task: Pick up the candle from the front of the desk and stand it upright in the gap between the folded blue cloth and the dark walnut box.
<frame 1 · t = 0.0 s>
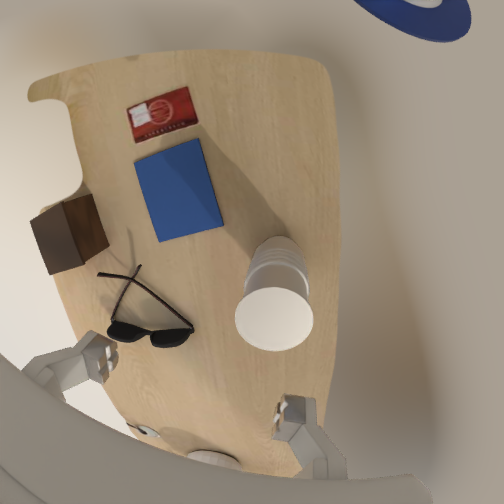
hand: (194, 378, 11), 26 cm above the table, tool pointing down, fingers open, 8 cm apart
white plant pot: (210, 460, 62), on the table
box: (82, 227, 39), on the table
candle: (279, 256, 37), on the table
cloth: (177, 192, 35), on the table
sunglasses: (143, 295, 42), on the table
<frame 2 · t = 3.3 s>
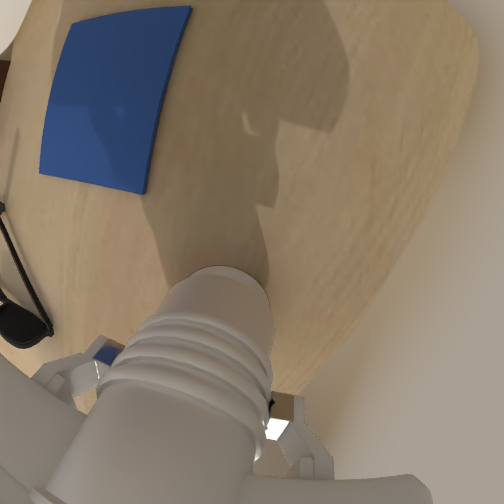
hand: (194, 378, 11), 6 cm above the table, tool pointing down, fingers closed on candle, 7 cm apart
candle: (223, 307, 17), on the table, touching gripper
cloth: (99, 92, 13), on the table
sunglasses: (7, 245, 18), on the table
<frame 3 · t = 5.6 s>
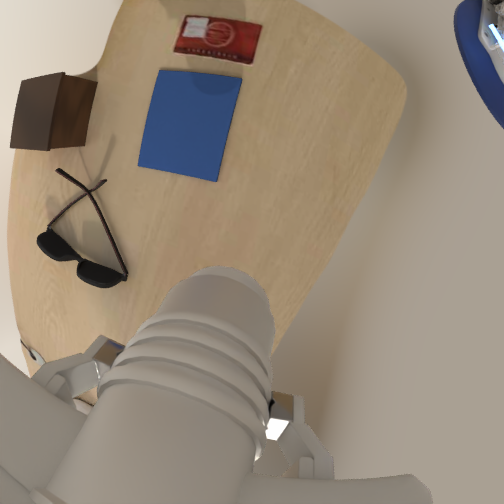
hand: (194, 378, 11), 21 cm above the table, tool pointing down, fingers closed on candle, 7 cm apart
box: (69, 113, 27), on the table
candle: (223, 307, 17), point 15 cm above the table, touching gripper
cloth: (186, 122, 27), on the table
sunglasses: (91, 215, 33), on the table
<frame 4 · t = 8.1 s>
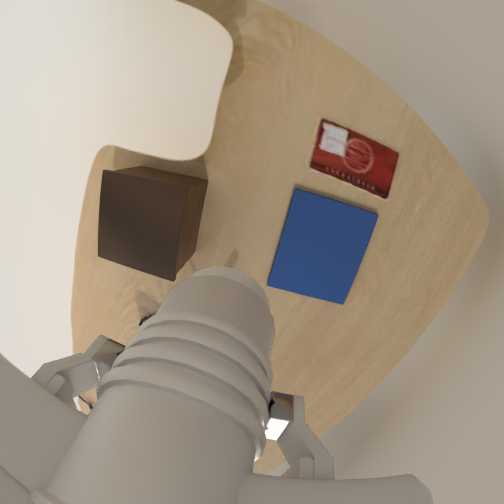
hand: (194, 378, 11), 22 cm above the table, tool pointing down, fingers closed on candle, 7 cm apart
box: (166, 208, 31), on the table
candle: (223, 307, 17), point 15 cm above the table, touching gripper
cloth: (322, 250, 31), on the table
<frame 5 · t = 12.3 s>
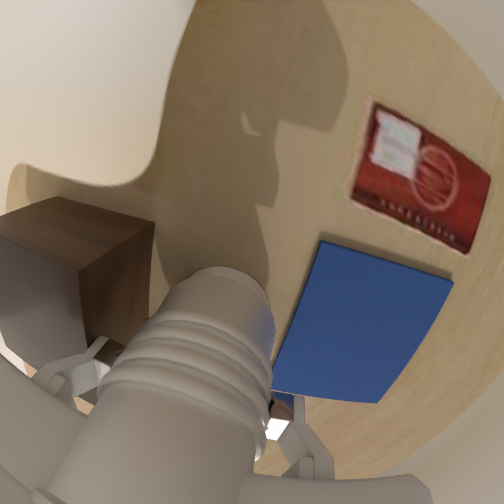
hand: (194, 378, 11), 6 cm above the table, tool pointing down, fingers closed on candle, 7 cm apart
box: (96, 267, 17), on the table
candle: (223, 307, 17), on the table, touching gripper
cloth: (358, 340, 17), on the table
when the fingers open (6 cm above the table, at t = 12.9 s): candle stays where it is, on the table.
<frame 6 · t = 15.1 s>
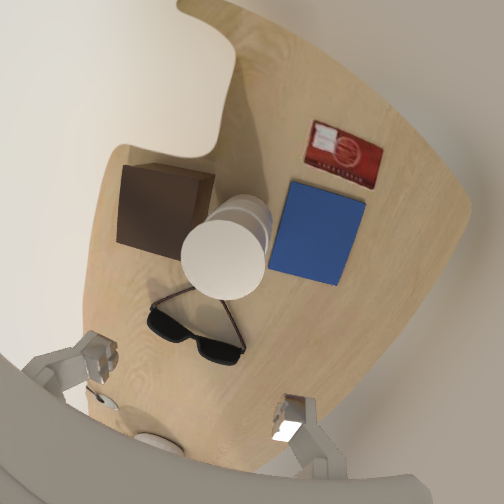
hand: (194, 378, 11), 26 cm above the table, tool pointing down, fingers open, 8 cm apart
white plant pot: (154, 443, 62), on the table
box: (177, 200, 35), on the table
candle: (246, 217, 35), on the table
cloth: (316, 236, 35), on the table
sunglasses: (209, 301, 40), on the table
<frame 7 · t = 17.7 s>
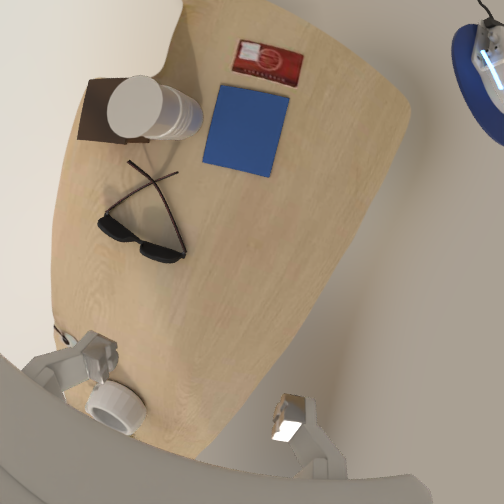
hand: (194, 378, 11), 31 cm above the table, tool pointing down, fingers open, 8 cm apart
white plant pot: (117, 395, 63), on the table
box: (131, 113, 36), on the table
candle: (184, 119, 36), on the table
cloth: (245, 129, 36), on the table
sunglasses: (153, 202, 41), on the table
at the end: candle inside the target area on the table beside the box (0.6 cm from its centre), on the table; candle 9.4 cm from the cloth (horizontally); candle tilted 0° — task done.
